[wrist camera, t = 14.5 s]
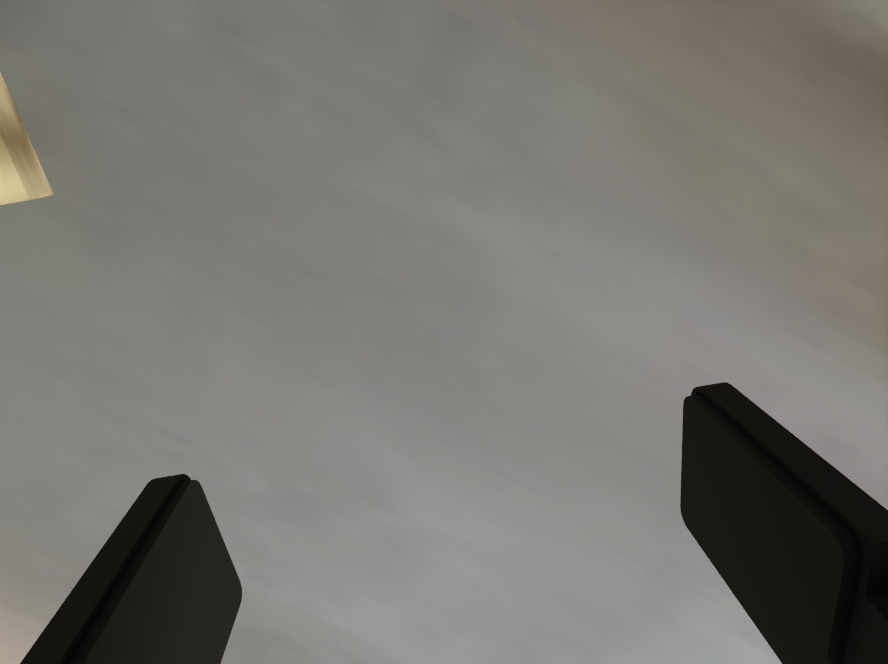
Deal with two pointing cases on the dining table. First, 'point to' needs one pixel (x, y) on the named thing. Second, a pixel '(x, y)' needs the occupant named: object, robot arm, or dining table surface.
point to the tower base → (17, 157)
